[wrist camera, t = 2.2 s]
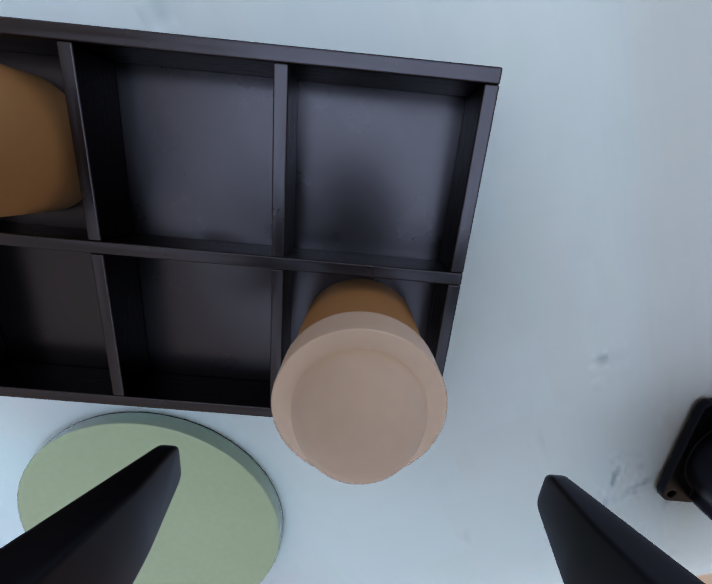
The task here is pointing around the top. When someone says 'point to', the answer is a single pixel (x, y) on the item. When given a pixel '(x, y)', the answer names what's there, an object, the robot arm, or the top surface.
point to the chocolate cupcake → (35, 146)
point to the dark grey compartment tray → (230, 209)
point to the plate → (188, 506)
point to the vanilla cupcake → (359, 385)
